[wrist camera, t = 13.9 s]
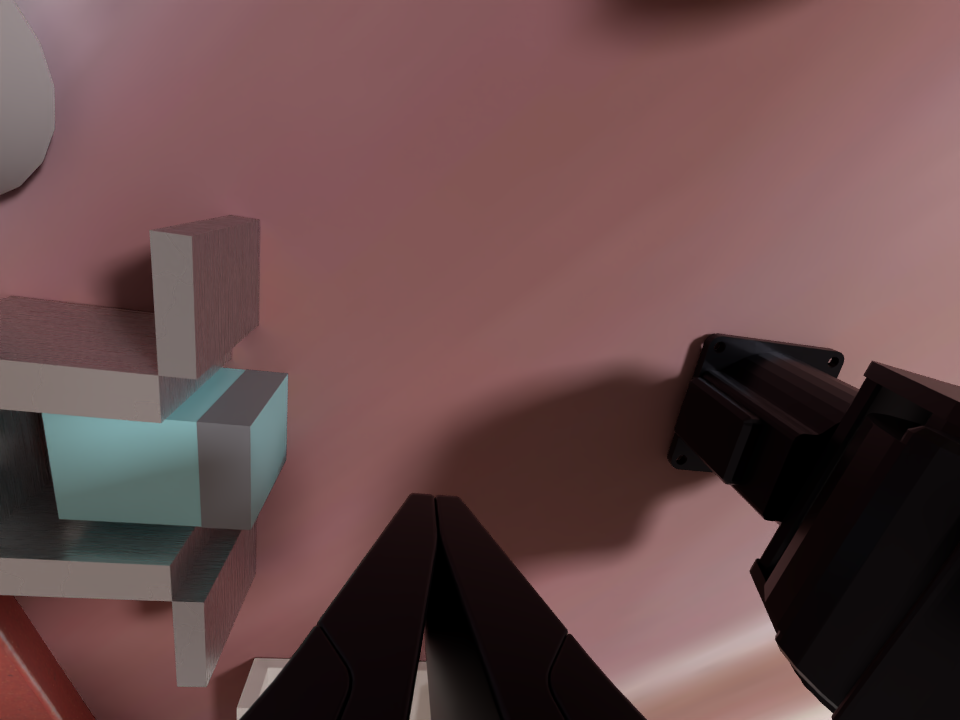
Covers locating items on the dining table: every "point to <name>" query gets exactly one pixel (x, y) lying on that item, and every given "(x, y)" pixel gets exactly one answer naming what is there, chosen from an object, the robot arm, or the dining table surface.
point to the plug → (176, 457)
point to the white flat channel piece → (271, 667)
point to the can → (22, 99)
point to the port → (135, 397)
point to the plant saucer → (32, 673)
